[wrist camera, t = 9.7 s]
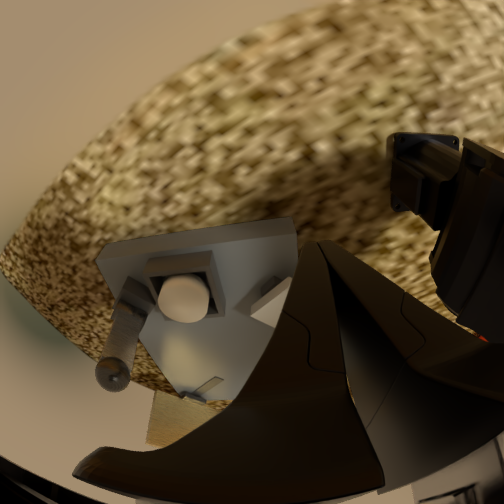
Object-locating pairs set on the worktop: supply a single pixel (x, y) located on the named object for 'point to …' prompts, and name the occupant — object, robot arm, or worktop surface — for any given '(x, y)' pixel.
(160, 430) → the brass paddle
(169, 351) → the panel
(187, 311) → the push button
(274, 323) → the block
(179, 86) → the worktop surface
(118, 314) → the steel lever
